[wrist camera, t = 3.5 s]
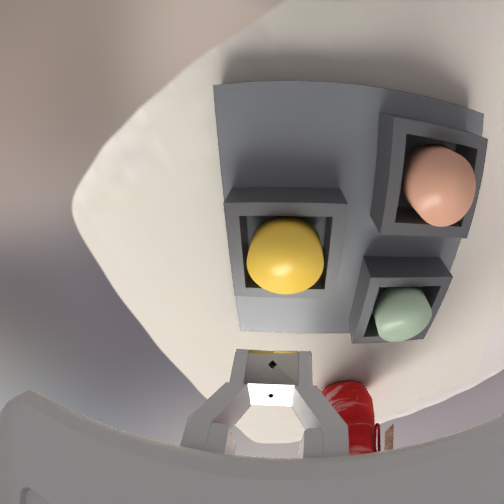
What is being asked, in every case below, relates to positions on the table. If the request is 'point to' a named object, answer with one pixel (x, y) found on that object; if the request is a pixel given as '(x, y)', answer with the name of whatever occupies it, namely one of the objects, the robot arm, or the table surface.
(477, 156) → the button panel
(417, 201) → the terracotta button
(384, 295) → the sage button
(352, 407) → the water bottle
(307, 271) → the amber button
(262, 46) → the table surface
